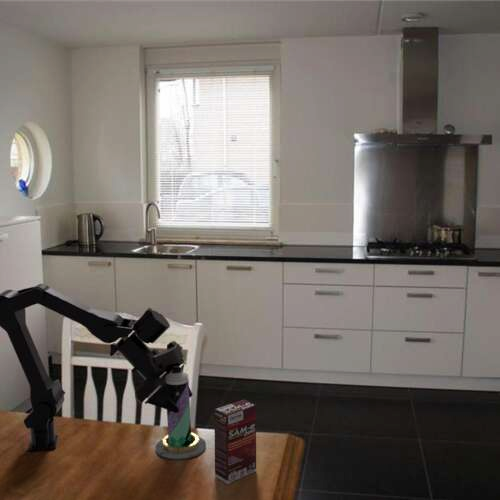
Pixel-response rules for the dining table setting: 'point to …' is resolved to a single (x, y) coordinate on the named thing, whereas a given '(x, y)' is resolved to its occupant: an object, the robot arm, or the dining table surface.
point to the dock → (181, 448)
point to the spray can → (179, 421)
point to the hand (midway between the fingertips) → (185, 403)
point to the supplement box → (235, 441)
